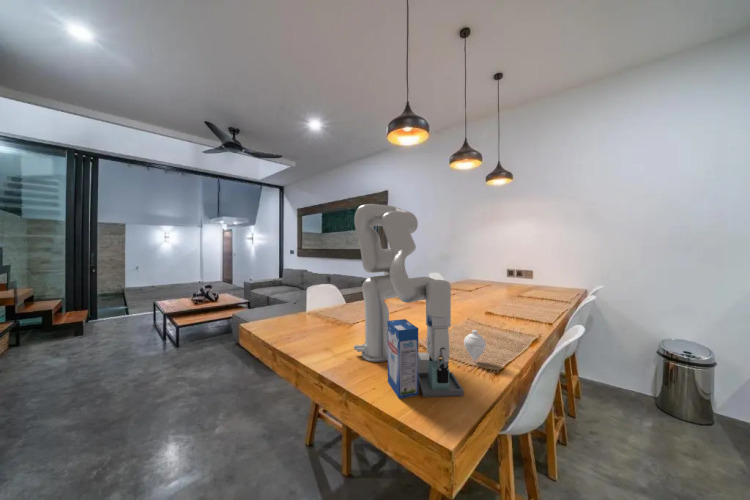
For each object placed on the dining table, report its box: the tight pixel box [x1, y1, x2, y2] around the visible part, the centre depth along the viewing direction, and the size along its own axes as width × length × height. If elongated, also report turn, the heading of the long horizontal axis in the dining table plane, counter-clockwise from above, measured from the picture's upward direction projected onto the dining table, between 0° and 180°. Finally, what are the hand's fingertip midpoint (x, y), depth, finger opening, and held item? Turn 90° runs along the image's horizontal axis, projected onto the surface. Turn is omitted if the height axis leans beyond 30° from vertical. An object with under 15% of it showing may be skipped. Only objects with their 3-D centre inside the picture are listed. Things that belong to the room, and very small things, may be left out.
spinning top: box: [463, 329, 487, 363], centre depth 101 cm, size 8×8×12 cm
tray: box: [419, 371, 465, 398], centre depth 84 cm, size 12×11×2 cm
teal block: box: [428, 361, 450, 390], centre depth 84 cm, size 5×6×6 cm
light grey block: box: [418, 352, 429, 373], centre depth 96 cm, size 9×6×5 cm, turn 92°
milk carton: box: [387, 318, 420, 400], centre depth 83 cm, size 10×6×20 cm, turn 17°
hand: (438, 374), depth 84 cm, fingers open, 9 cm apart
